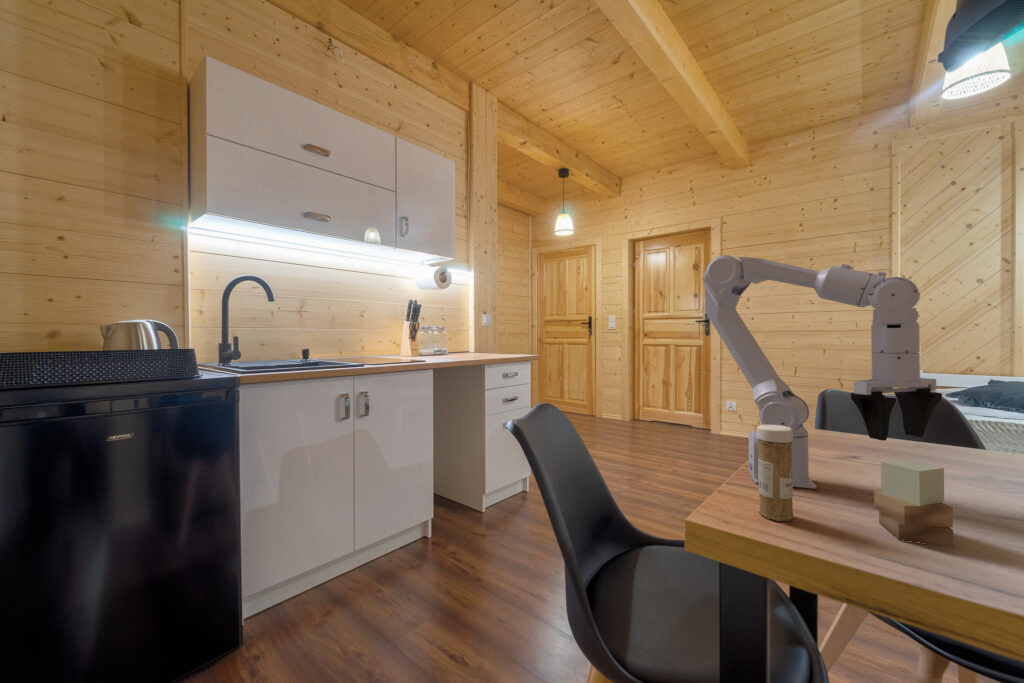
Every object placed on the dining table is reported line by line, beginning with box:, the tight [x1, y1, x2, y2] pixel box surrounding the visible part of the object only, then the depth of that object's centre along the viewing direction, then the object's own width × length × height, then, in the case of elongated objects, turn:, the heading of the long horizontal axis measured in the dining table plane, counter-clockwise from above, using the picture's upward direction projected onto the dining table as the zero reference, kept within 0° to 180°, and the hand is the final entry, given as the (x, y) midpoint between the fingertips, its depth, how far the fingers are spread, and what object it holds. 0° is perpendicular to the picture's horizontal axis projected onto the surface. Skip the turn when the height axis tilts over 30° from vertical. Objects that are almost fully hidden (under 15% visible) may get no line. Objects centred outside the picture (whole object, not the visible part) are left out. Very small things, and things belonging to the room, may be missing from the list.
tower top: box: [873, 489, 954, 528], centre depth 57 cm, size 6×6×3 cm
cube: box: [880, 458, 945, 506], centre depth 57 cm, size 4×4×4 cm
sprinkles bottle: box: [756, 424, 795, 522], centre depth 63 cm, size 5×5×14 cm
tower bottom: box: [878, 511, 954, 548], centre depth 57 cm, size 6×6×3 cm
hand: (896, 437), depth 68 cm, fingers open, 7 cm apart
